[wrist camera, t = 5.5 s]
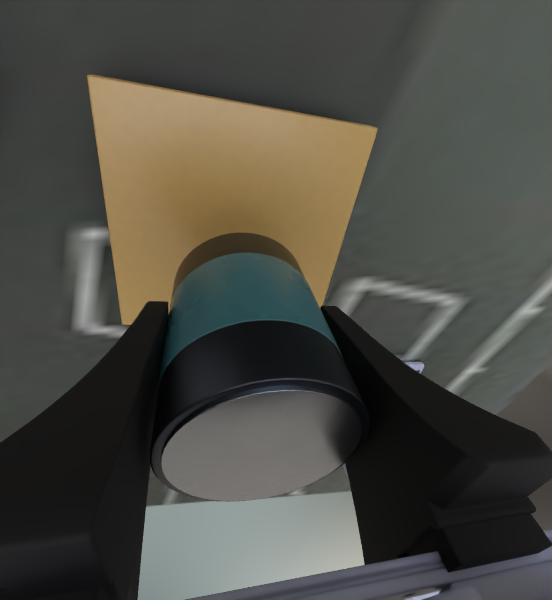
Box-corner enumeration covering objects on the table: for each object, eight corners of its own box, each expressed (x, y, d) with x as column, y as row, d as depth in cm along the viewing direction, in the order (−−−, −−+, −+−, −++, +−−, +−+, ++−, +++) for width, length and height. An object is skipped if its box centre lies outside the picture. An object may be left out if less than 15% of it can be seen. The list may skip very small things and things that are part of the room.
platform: (306, 305, 23) (316, 327, 21) (129, 299, 20) (121, 325, 18) (357, 120, 16) (378, 128, 14) (103, 73, 13) (86, 74, 11)
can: (290, 338, 15) (337, 493, 10) (174, 338, 14) (154, 516, 9) (316, 237, 12) (407, 377, 7) (171, 225, 11) (138, 386, 6)
